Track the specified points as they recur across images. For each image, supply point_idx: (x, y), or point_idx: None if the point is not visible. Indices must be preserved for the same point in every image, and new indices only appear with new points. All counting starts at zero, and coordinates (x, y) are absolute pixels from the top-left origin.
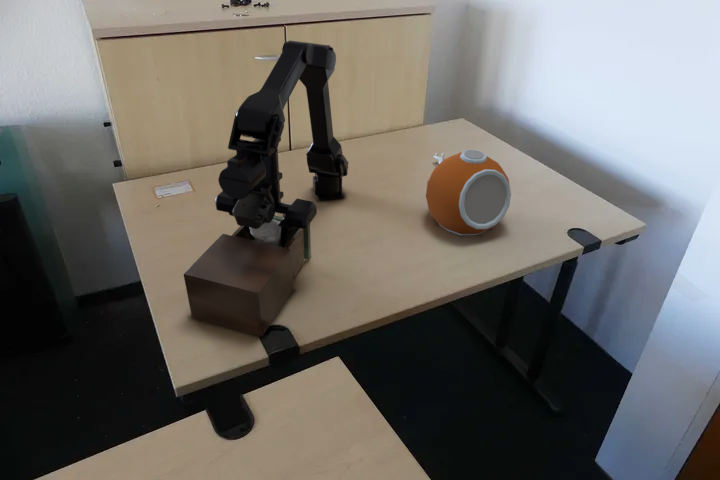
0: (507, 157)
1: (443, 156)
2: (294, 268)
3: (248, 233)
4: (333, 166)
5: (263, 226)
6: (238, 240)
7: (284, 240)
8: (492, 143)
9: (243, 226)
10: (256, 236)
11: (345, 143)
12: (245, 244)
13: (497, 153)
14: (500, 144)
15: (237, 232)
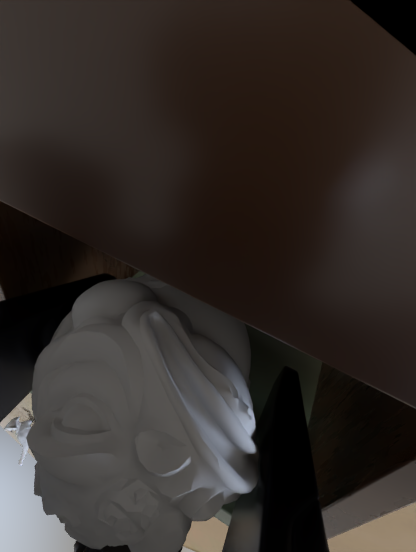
0: (4, 424)
1: (20, 458)
2: None
3: (303, 423)
4: (86, 549)
5: (47, 440)
6: (397, 327)
7: (47, 290)
8: (28, 450)
9: (343, 502)
10: (179, 354)
11: (184, 542)
12: (252, 200)
13: (15, 434)
14: (21, 445)
15: (408, 471)
